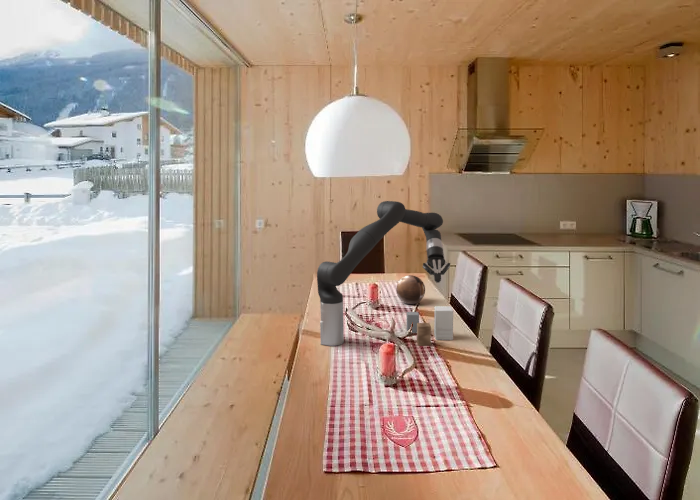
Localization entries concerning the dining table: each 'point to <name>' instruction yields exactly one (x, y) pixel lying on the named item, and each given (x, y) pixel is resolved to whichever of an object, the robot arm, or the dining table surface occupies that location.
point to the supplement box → (443, 322)
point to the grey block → (412, 318)
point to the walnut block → (423, 334)
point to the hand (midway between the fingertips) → (438, 281)
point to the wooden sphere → (410, 289)
